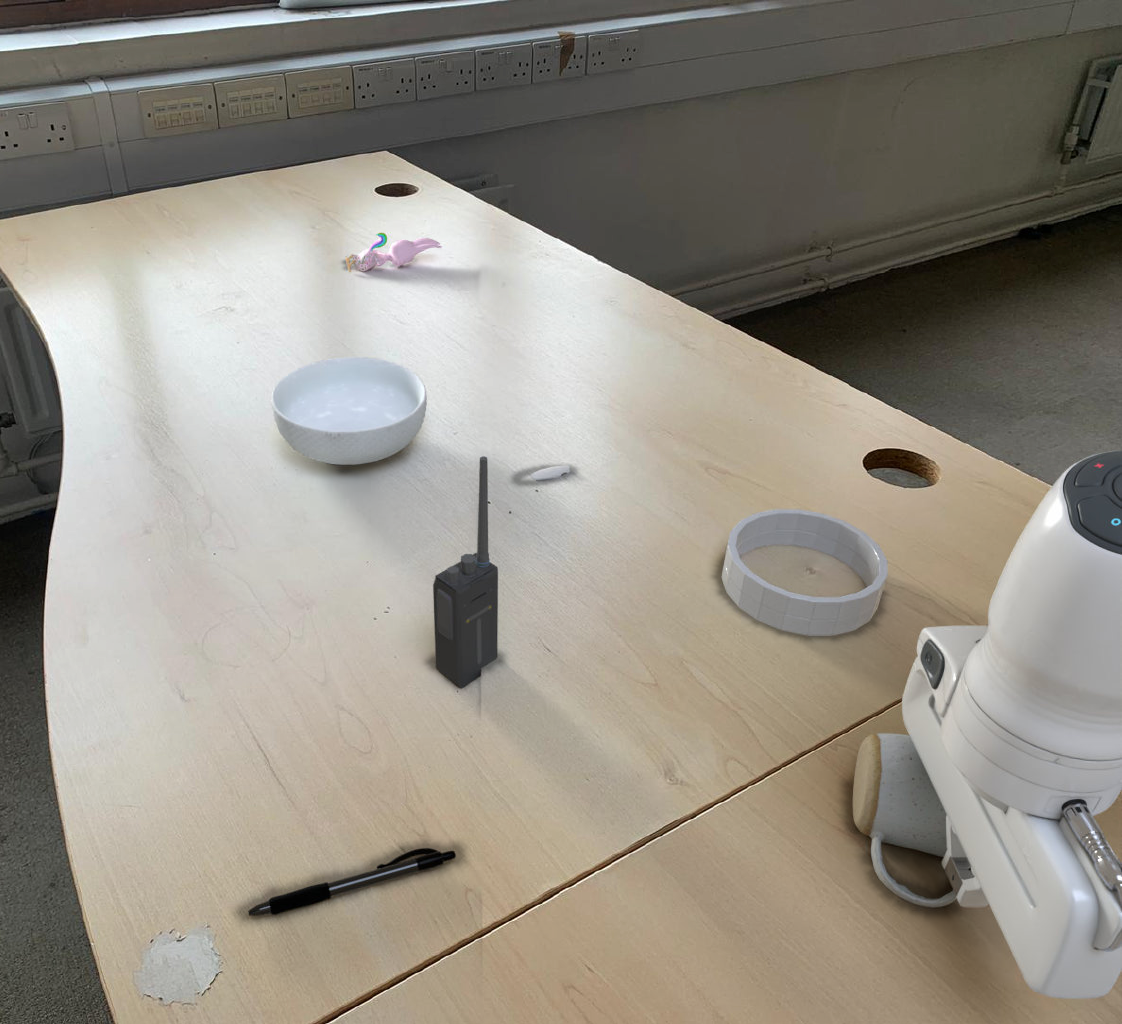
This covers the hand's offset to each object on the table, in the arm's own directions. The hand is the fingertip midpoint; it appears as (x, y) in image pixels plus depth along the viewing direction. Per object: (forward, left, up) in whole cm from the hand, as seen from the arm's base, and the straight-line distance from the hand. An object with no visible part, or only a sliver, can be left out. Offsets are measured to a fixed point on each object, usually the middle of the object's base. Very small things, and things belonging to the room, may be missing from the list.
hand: (963, 886), depth 61 cm
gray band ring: (+1, -33, -3) cm, 33 cm away
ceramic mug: (0, -6, -4) cm, 7 cm away
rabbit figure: (+43, -111, -4) cm, 119 cm away
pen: (+38, -2, -4) cm, 38 cm away
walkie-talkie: (+31, -23, -4) cm, 38 cm away
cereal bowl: (+44, -58, -4) cm, 72 cm away
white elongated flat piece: (+23, -51, -4) cm, 56 cm away
